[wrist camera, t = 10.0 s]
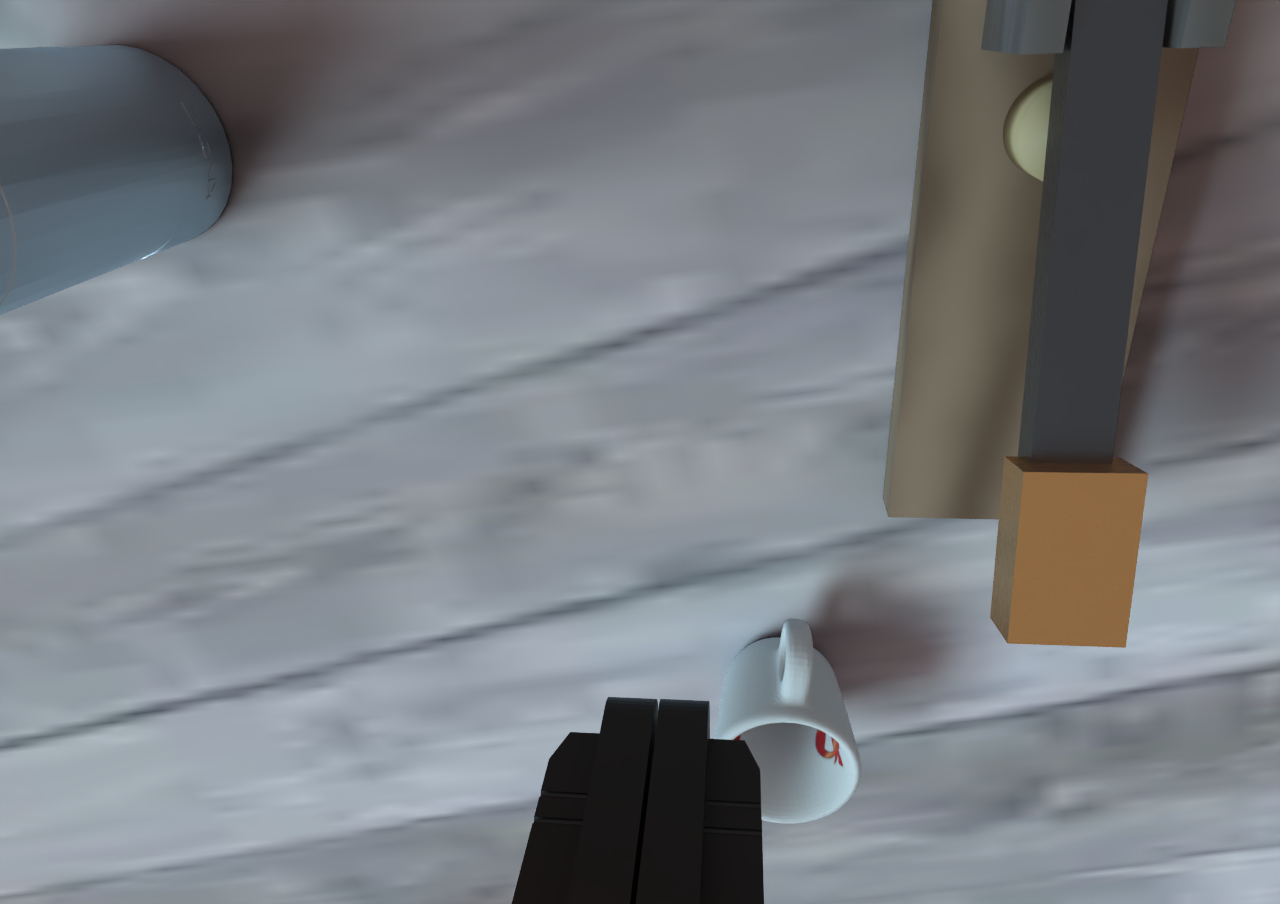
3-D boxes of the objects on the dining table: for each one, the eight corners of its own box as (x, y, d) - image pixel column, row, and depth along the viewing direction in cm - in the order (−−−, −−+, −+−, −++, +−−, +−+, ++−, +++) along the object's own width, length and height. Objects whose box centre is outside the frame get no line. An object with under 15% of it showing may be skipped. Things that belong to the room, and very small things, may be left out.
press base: (882, 497, 46) (906, 578, 40) (938, -60, 35) (985, -78, 28) (1076, 501, 45) (1134, 584, 38) (1202, -74, 33) (1316, -97, 27)
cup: (726, 573, 50) (723, 665, 42) (864, 588, 49) (885, 684, 42) (708, 711, 55) (703, 815, 47) (833, 727, 54) (847, 834, 47)
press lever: (986, 611, 37) (1007, 643, 34) (1040, -4, 31) (1071, -30, 28) (1094, 614, 36) (1125, 647, 33) (1169, -10, 30) (1214, -37, 27)
